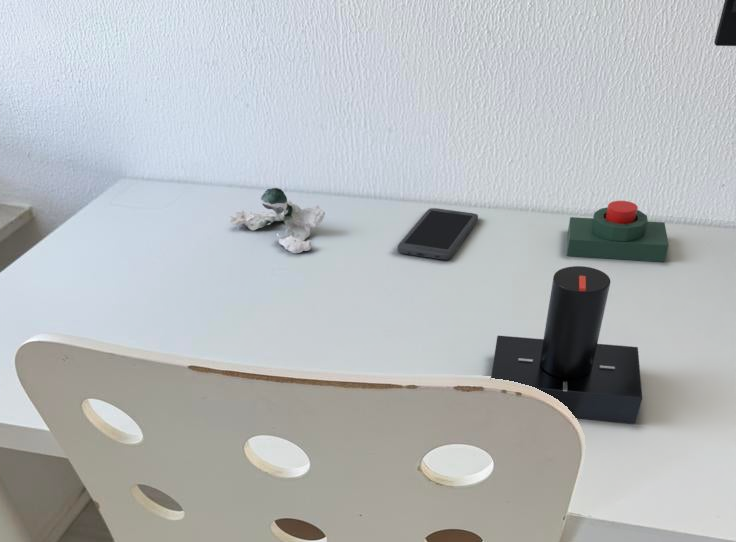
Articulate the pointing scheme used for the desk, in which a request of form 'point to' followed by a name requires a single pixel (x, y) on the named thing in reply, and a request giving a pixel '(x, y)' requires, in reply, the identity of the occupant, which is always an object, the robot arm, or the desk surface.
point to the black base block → (583, 394)
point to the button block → (617, 238)
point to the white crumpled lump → (283, 219)
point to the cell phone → (438, 233)
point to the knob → (574, 321)
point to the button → (621, 212)
